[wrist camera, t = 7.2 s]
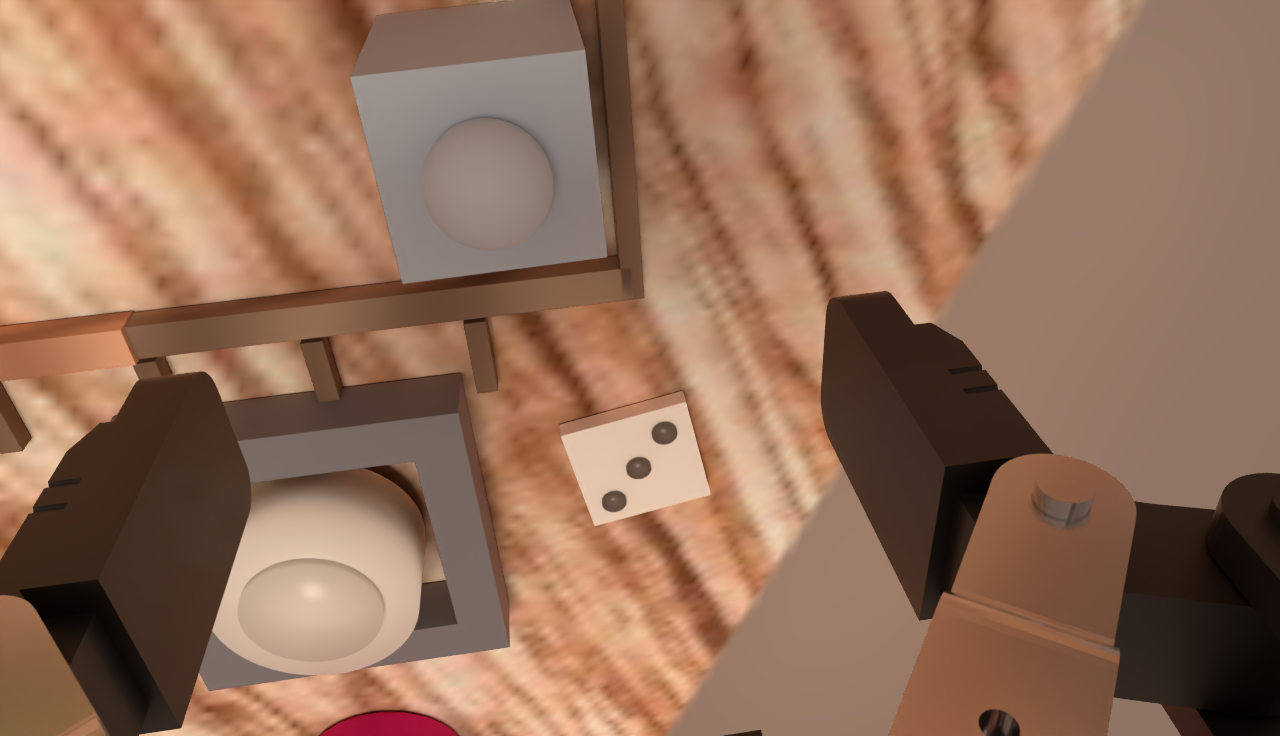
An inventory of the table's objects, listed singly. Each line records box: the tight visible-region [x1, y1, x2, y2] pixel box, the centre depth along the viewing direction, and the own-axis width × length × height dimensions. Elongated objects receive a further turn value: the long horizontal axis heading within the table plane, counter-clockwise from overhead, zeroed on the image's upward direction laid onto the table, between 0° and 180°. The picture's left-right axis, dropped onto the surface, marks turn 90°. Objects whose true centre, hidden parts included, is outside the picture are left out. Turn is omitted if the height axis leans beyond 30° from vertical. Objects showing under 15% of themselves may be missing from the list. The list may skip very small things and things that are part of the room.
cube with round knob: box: [350, 0, 607, 284], centre depth 20 cm, size 4×4×7 cm
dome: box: [212, 468, 426, 675], centre depth 28 cm, size 6×6×3 cm
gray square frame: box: [110, 373, 510, 691], centre depth 29 cm, size 10×10×2 cm
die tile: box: [560, 391, 711, 526], centre depth 30 cm, size 4×4×1 cm
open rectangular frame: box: [0, 0, 644, 454], centre depth 23 cm, size 23×14×1 cm, turn 94°
